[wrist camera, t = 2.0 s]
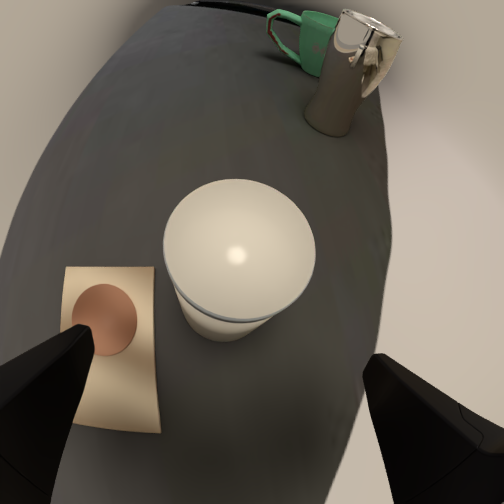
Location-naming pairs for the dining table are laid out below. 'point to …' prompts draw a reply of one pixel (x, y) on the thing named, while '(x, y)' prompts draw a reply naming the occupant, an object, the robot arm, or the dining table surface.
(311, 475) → the dining table surface
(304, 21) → the mug
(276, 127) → the dining table surface
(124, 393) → the mat
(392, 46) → the beer glass
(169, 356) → the dining table surface
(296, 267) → the white lidded jar
